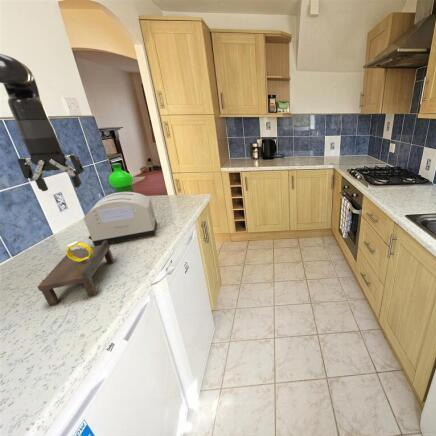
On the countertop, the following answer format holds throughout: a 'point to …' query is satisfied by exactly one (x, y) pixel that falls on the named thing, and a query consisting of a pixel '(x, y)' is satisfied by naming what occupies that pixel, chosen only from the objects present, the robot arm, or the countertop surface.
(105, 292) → the countertop surface
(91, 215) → the toaster
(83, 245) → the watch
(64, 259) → the small brown table
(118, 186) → the plastic bottle
